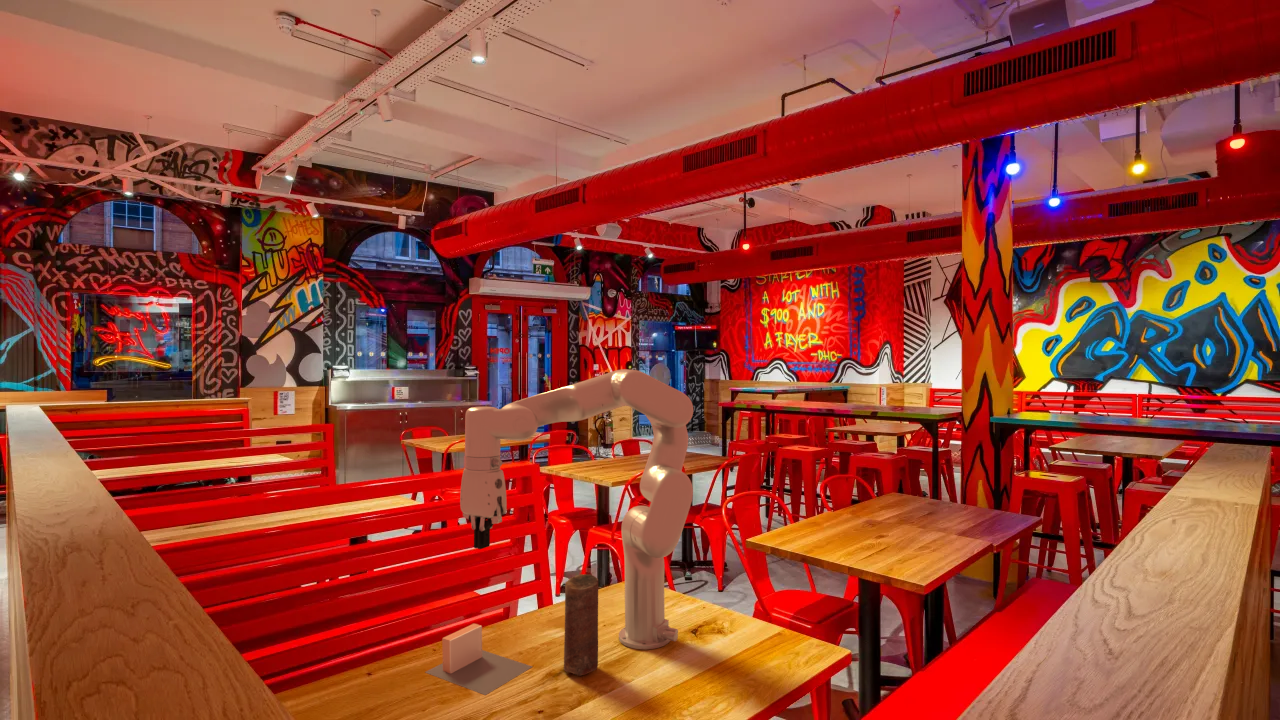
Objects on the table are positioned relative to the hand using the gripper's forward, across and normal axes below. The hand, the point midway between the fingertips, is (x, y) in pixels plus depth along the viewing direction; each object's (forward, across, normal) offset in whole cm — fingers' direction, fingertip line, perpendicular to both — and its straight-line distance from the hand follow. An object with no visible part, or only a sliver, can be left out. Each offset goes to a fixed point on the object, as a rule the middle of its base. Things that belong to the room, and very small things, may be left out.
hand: (481, 547), depth 146 cm
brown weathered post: (+26, -20, -10) cm, 34 cm away
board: (+27, -2, +2) cm, 27 cm away
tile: (+26, +3, +2) cm, 26 cm away
